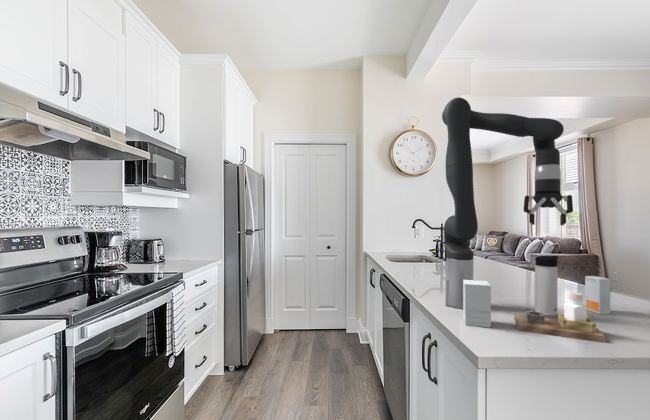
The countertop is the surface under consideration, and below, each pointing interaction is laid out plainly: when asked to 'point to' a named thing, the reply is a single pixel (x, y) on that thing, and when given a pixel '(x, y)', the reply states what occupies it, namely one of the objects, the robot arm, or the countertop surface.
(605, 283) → the skincare box
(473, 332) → the countertop surface
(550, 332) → the brown wooden flat board
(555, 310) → the travel mug
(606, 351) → the countertop surface
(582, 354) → the countertop surface
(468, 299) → the supplement box
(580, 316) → the pepper shaker
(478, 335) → the countertop surface
